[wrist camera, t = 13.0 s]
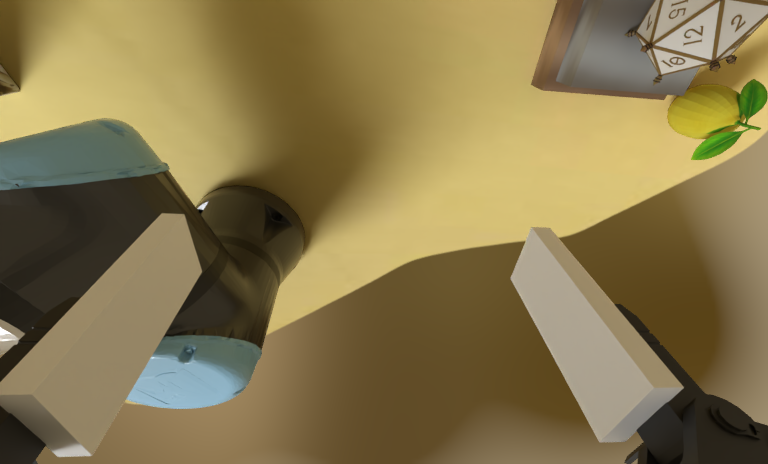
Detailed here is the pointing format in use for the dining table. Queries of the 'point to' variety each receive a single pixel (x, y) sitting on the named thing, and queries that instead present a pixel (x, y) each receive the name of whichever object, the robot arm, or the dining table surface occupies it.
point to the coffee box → (6, 83)
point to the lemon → (715, 115)
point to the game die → (696, 32)
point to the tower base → (602, 52)
